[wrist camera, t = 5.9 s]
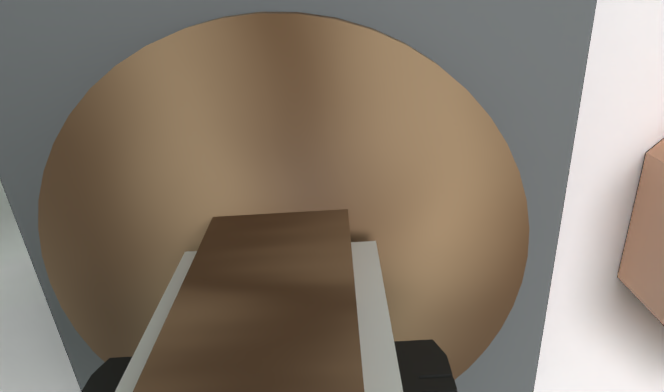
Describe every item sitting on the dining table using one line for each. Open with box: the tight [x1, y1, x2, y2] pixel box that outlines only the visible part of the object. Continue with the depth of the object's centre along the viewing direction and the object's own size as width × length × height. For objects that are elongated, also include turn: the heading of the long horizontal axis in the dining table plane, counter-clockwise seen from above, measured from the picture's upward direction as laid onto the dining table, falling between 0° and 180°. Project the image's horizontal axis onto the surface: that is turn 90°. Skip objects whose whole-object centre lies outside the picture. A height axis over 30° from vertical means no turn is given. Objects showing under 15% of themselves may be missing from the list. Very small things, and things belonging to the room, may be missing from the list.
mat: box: [0, 0, 597, 392], centre depth 17 cm, size 18×17×1 cm
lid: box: [38, 12, 529, 392], centre depth 12 cm, size 15×15×9 cm
